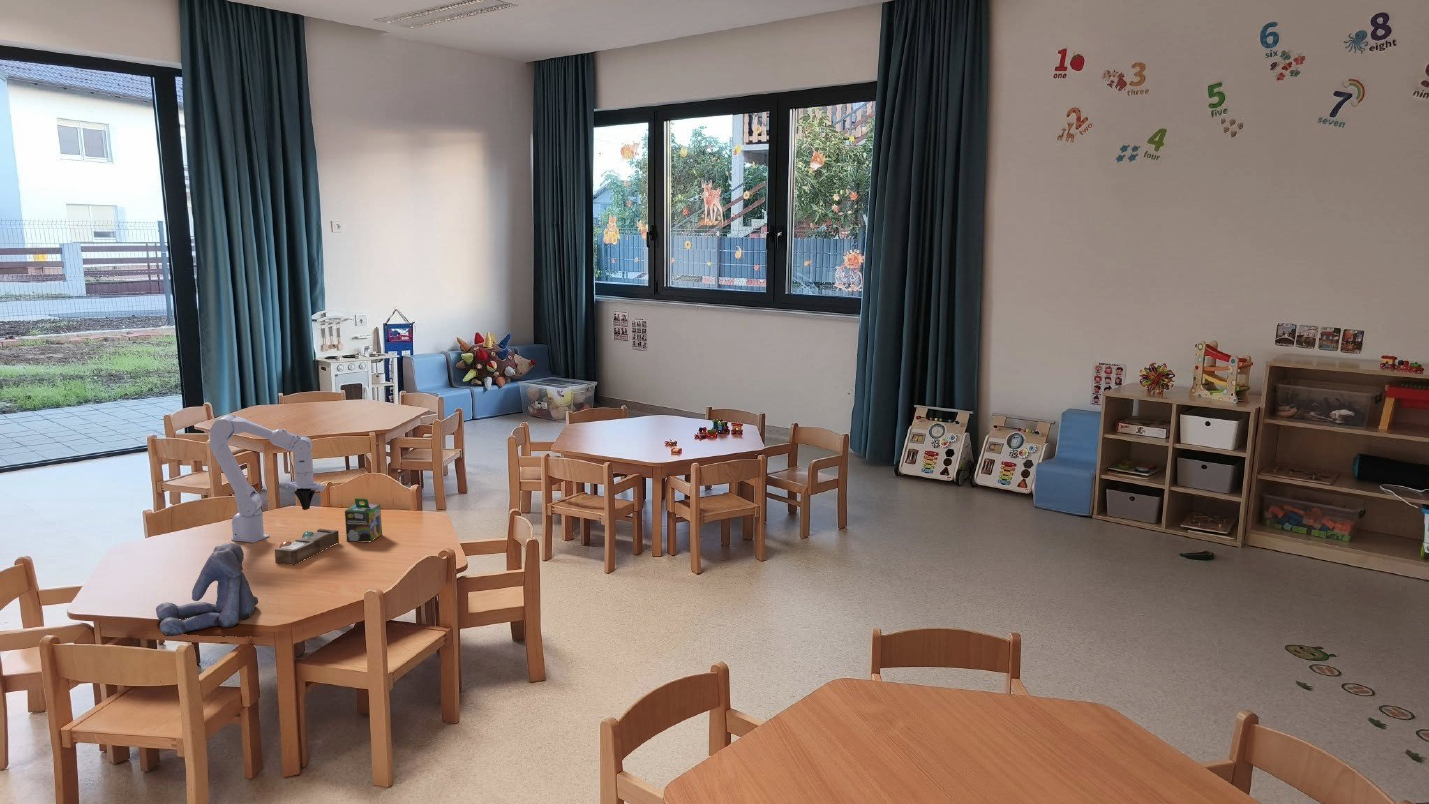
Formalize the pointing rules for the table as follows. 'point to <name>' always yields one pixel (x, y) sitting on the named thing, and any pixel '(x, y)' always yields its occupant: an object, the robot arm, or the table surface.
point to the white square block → (291, 545)
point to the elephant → (231, 596)
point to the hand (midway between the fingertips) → (306, 509)
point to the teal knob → (313, 535)
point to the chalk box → (363, 521)
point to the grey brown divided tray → (306, 548)
